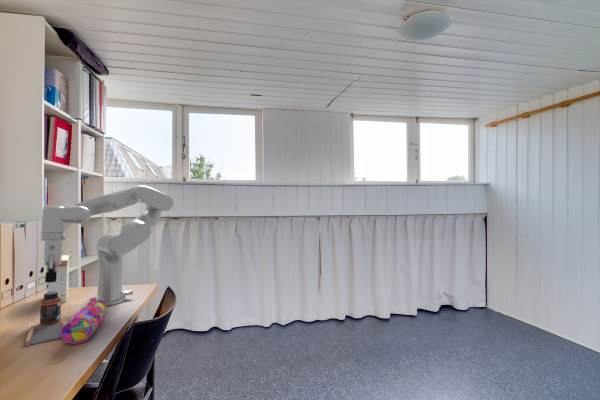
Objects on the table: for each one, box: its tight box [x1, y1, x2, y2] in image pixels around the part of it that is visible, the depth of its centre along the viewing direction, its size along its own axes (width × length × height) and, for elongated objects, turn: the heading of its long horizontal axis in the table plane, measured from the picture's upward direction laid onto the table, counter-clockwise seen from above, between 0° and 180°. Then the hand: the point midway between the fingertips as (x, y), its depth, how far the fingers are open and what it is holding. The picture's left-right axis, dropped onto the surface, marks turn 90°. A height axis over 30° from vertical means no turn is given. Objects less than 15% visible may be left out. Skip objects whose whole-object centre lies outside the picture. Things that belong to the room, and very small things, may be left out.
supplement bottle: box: [39, 291, 62, 326], centre depth 109 cm, size 6×6×11 cm
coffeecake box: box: [47, 254, 70, 303], centre depth 135 cm, size 15×7×20 cm, turn 36°
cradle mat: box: [24, 319, 68, 347], centre depth 100 cm, size 10×14×2 cm
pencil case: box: [61, 297, 108, 345], centre depth 102 cm, size 22×9×9 cm, turn 24°
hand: (50, 281), depth 115 cm, fingers closed
